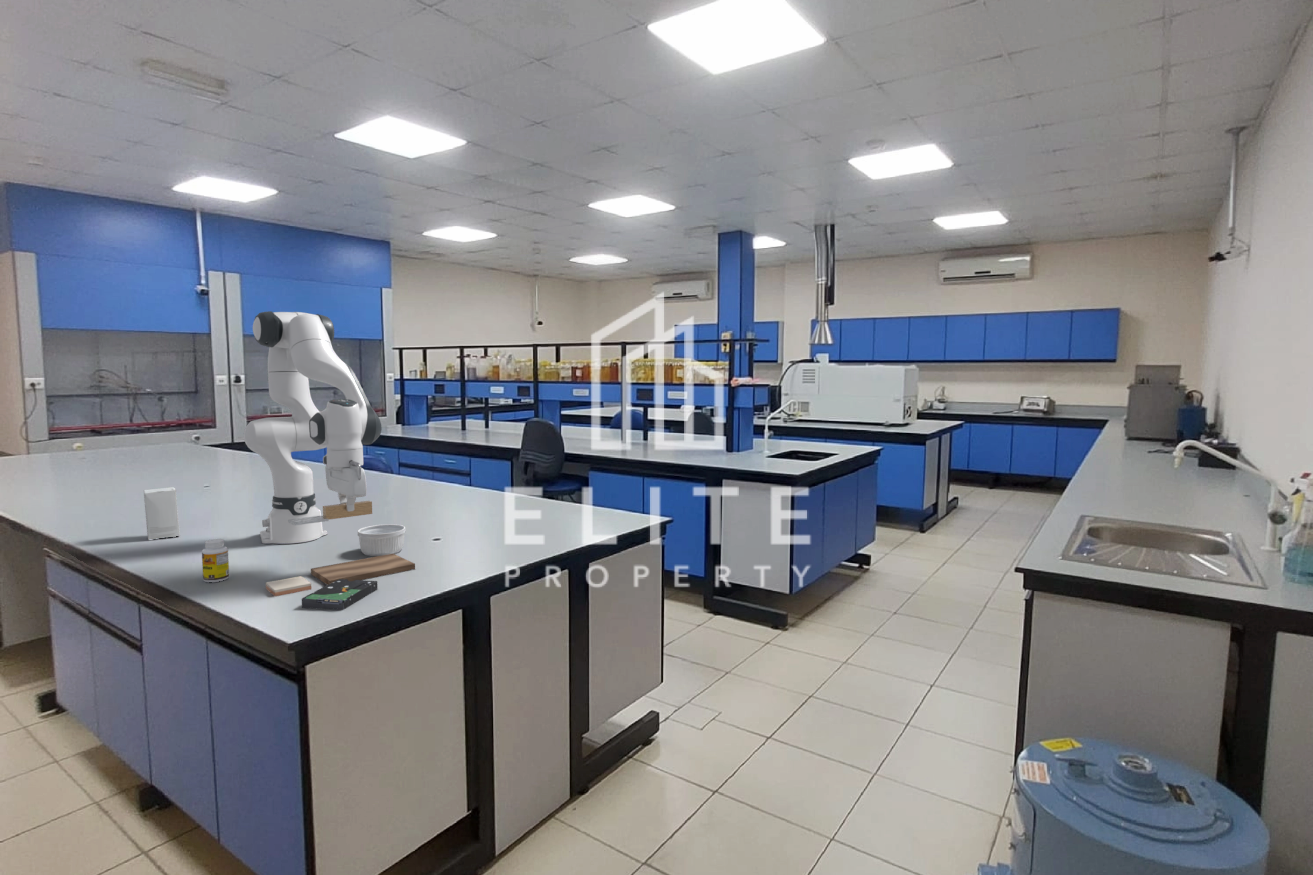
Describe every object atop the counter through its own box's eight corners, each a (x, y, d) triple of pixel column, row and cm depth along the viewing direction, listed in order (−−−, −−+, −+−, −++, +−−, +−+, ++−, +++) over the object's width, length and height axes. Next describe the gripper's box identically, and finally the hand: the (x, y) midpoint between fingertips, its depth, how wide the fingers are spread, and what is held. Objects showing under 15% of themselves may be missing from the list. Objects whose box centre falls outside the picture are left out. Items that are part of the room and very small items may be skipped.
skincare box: (178, 533, 216) (175, 486, 215) (180, 537, 211) (177, 489, 210) (146, 537, 211) (143, 489, 210) (147, 541, 206) (144, 492, 205)
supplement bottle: (198, 581, 168) (196, 541, 167) (221, 575, 173) (219, 536, 172) (210, 584, 165) (208, 544, 164) (233, 578, 170) (232, 539, 169)
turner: (366, 511, 186) (366, 499, 186) (374, 514, 182) (374, 502, 182) (288, 521, 173) (287, 509, 172) (295, 525, 168) (294, 512, 168)
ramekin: (348, 555, 194) (347, 531, 193) (379, 544, 206) (378, 522, 205) (385, 559, 190) (385, 535, 189) (415, 548, 202) (414, 525, 202)
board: (310, 574, 175) (310, 568, 174) (393, 558, 190) (393, 553, 190) (329, 586, 165) (329, 580, 165) (415, 569, 180) (415, 563, 180)
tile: (265, 582, 163) (274, 590, 157) (301, 575, 168) (311, 583, 162) (265, 590, 163) (275, 598, 157) (301, 583, 168) (311, 591, 163)
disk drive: (338, 589, 164) (300, 609, 150) (338, 578, 164) (300, 597, 150) (378, 591, 163) (344, 612, 149) (378, 580, 163) (343, 599, 148)
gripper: (372, 461, 173) (374, 513, 175) (344, 455, 188) (346, 503, 189) (347, 463, 169) (349, 516, 170) (320, 457, 184) (322, 506, 185)
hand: (347, 509), depth 180 cm, fingers closed on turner, 2 cm apart
